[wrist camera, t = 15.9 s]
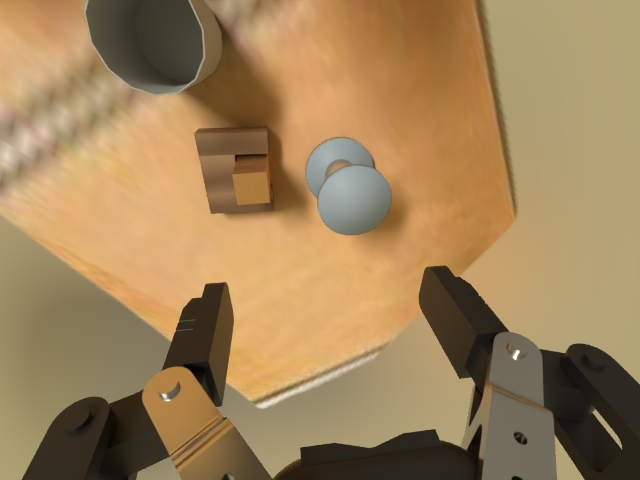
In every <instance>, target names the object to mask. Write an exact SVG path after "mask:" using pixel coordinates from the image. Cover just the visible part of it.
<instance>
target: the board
mask: <svg viewBox="0 0 640 480" xmlns="http://www.w3.org/2000/svg"><path fill="white" fill-rule="evenodd" d="M194 135H195V140H196V145H197V149H198V154H199V159H200V164H201V168H202V173H203V178H204V183H205V187H206V192H207V197H208V202H209V207H210V211H211V214H216V213H234V212H252V211H269V210H274V200H273V188H272V185H270V203H258V204H245V205H238V204H237V199H236V193H235V188H234V183H233V177H232V173H233V170H234V166H235V163H236V160H237V155H241V154H268V153H269V142H268V131H267V127H242V128H206V129H198V130H197V131H196V132H195V134H194Z"/></svg>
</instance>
